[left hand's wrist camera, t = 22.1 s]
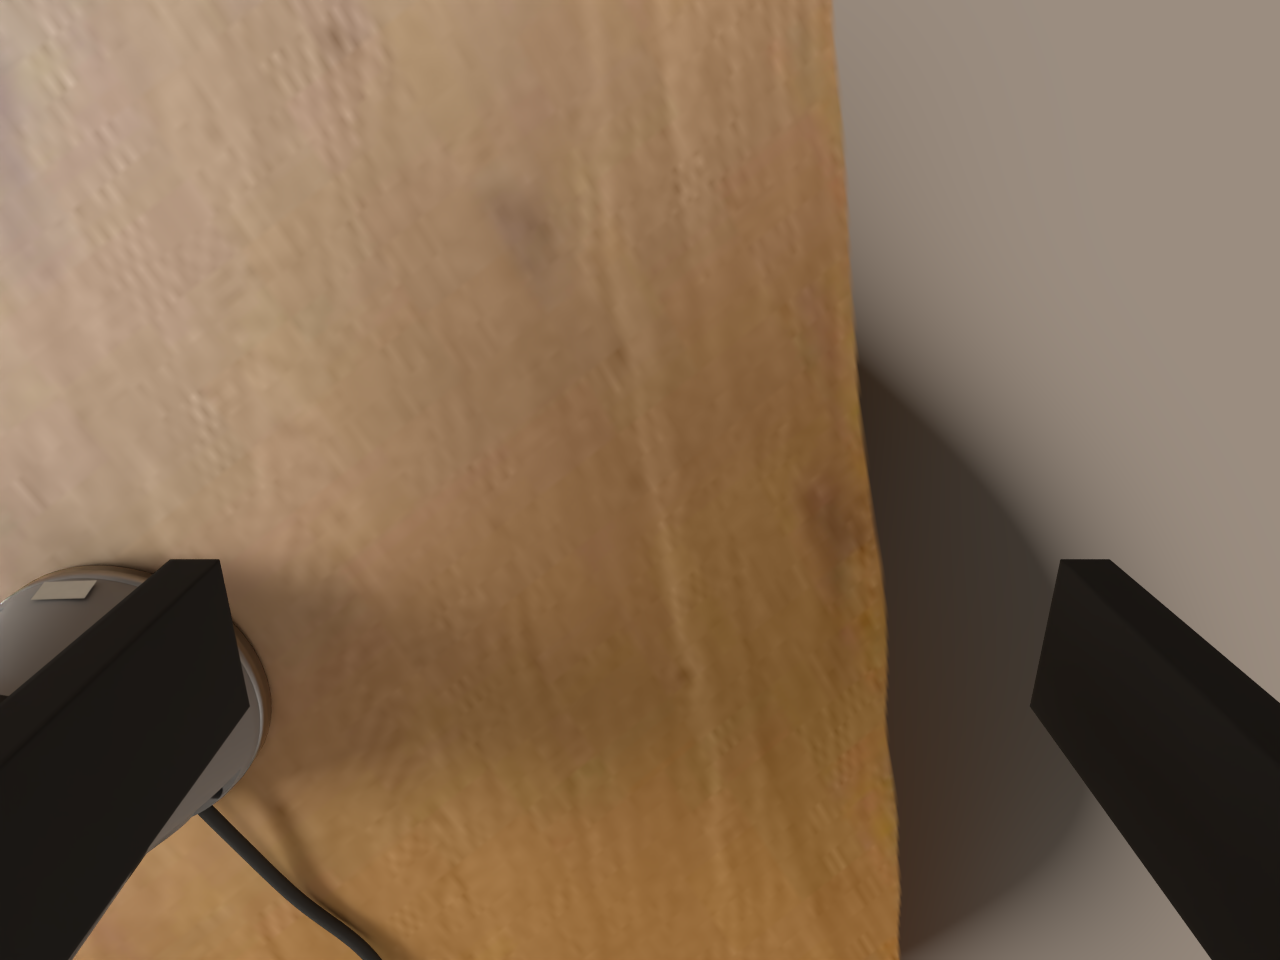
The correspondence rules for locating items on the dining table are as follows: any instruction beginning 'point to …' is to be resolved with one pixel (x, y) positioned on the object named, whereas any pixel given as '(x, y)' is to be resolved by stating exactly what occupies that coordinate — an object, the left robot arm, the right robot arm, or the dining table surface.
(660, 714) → the dining table surface
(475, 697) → the dining table surface
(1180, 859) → the left robot arm
